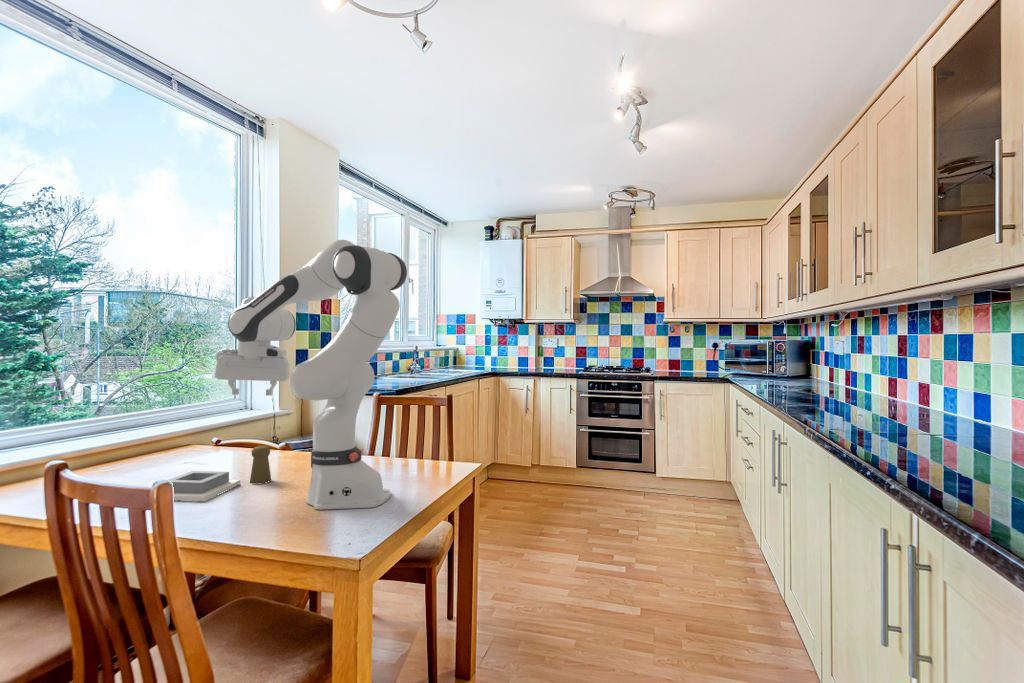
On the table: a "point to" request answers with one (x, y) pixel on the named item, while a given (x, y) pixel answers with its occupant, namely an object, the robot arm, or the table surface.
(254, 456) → the cork
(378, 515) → the table surface
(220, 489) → the socket board
